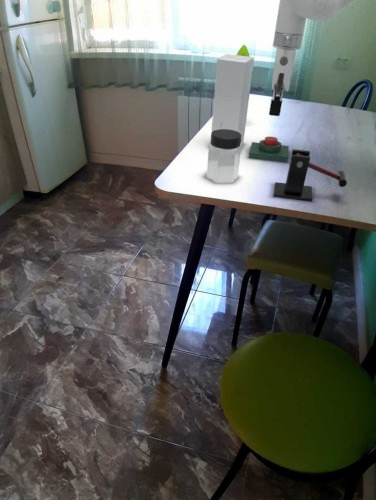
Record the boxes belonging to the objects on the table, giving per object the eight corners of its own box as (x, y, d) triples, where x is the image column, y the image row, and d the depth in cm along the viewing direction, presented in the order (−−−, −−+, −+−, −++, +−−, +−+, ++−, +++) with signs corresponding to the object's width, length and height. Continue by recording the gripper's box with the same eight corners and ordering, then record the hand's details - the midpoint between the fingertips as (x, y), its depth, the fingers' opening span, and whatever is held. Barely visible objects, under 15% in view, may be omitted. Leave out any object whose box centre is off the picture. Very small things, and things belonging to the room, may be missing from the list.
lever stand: (310, 190, 114) (320, 150, 106) (311, 203, 108) (322, 161, 100) (274, 186, 115) (282, 146, 107) (273, 198, 109) (281, 156, 102)
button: (276, 143, 130) (278, 137, 129) (276, 147, 127) (277, 141, 126) (264, 141, 131) (265, 135, 130) (263, 145, 128) (264, 140, 127)
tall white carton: (209, 149, 134) (216, 58, 117) (218, 141, 140) (226, 53, 123) (235, 153, 132) (246, 62, 115) (243, 145, 138) (254, 57, 121)
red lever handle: (341, 179, 109) (346, 171, 107) (343, 189, 105) (348, 180, 103) (292, 158, 108) (297, 149, 106) (292, 167, 104) (297, 158, 102)
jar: (243, 181, 116) (249, 136, 108) (220, 187, 113) (225, 141, 105) (223, 170, 122) (227, 126, 113) (201, 175, 118) (204, 131, 110)
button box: (287, 152, 135) (290, 140, 132) (286, 164, 127) (289, 150, 125) (251, 148, 136) (252, 136, 133) (248, 159, 129) (250, 146, 126)
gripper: (301, 46, 105) (286, 123, 118) (301, 38, 116) (287, 109, 128) (272, 43, 106) (260, 120, 119) (274, 35, 117) (263, 106, 129)
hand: (274, 114), depth 123 cm, fingers closed
